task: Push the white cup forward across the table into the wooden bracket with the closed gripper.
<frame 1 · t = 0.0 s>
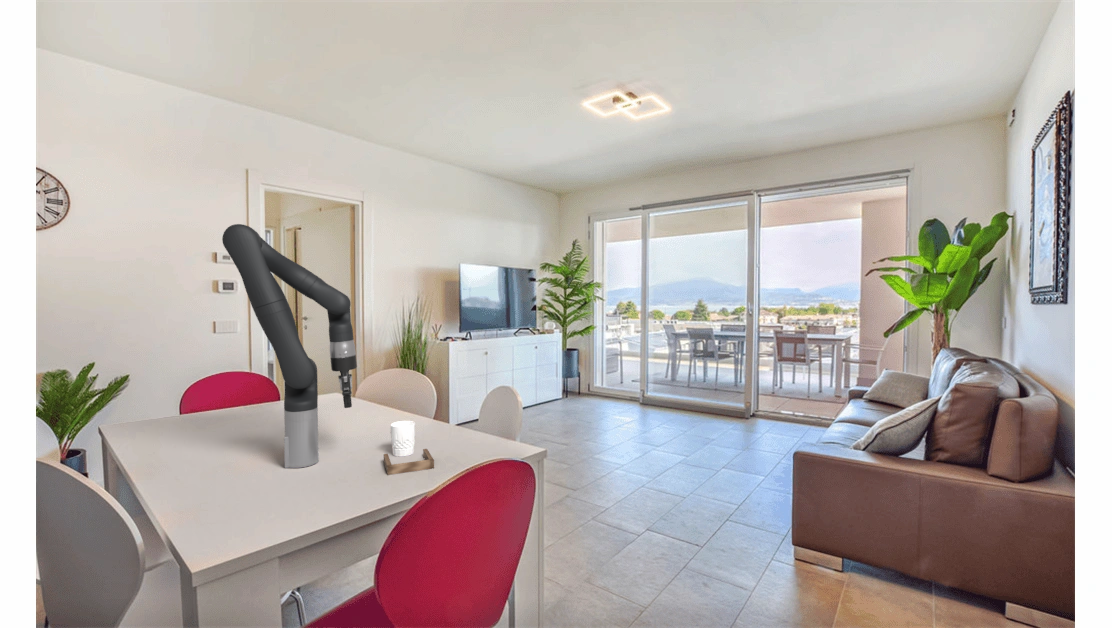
hand: (347, 404, 159), 17 cm above the table, tool pointing down, fingers open, 8 cm apart
wooden bracket: (408, 464, 153), on the table
white cup: (403, 454, 164), on the table
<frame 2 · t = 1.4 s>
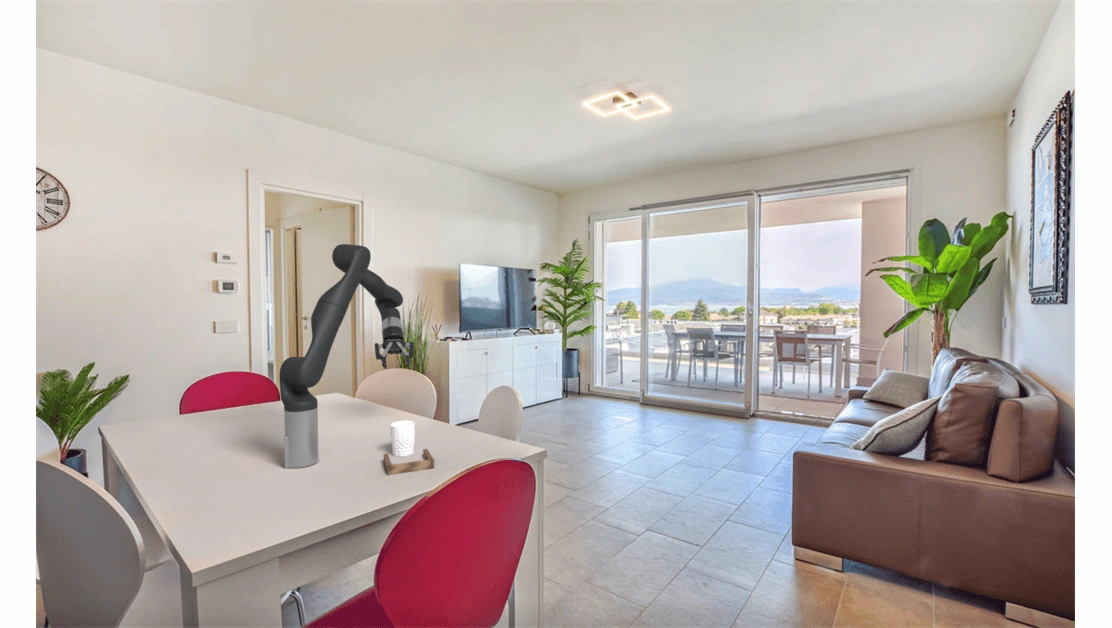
hand: (396, 366, 178), 27 cm above the table, tool tilted 45°, fingers open, 7 cm apart
nothing on the table moved.
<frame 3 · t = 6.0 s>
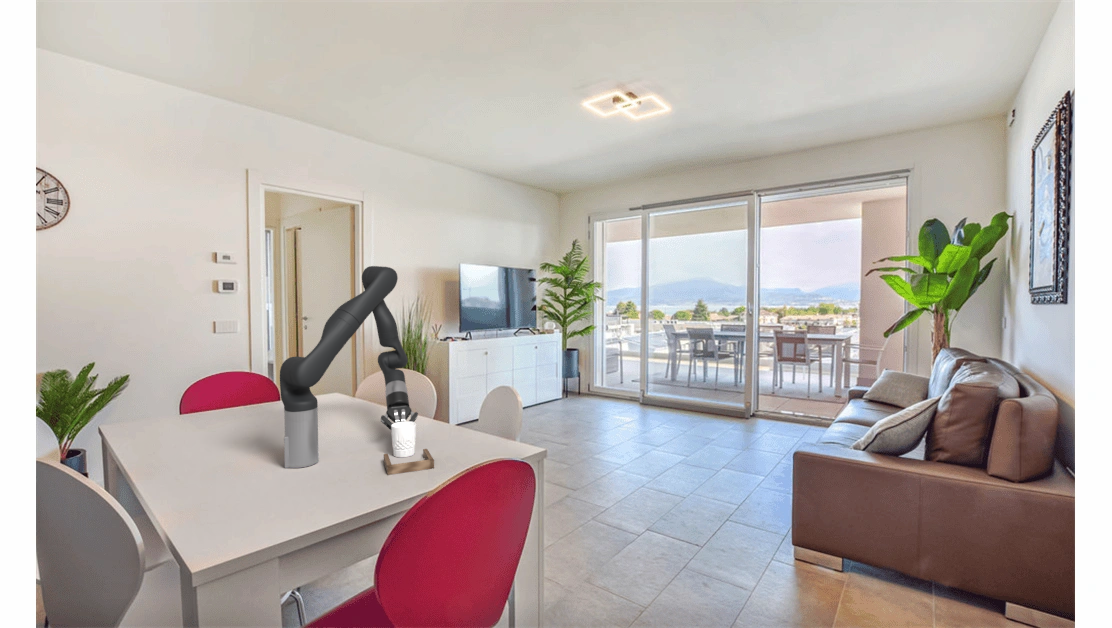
hand: (402, 439, 167), 4 cm above the table, tool tilted 45°, fingers closed
white cup: (404, 454, 163), on the table, touching gripper
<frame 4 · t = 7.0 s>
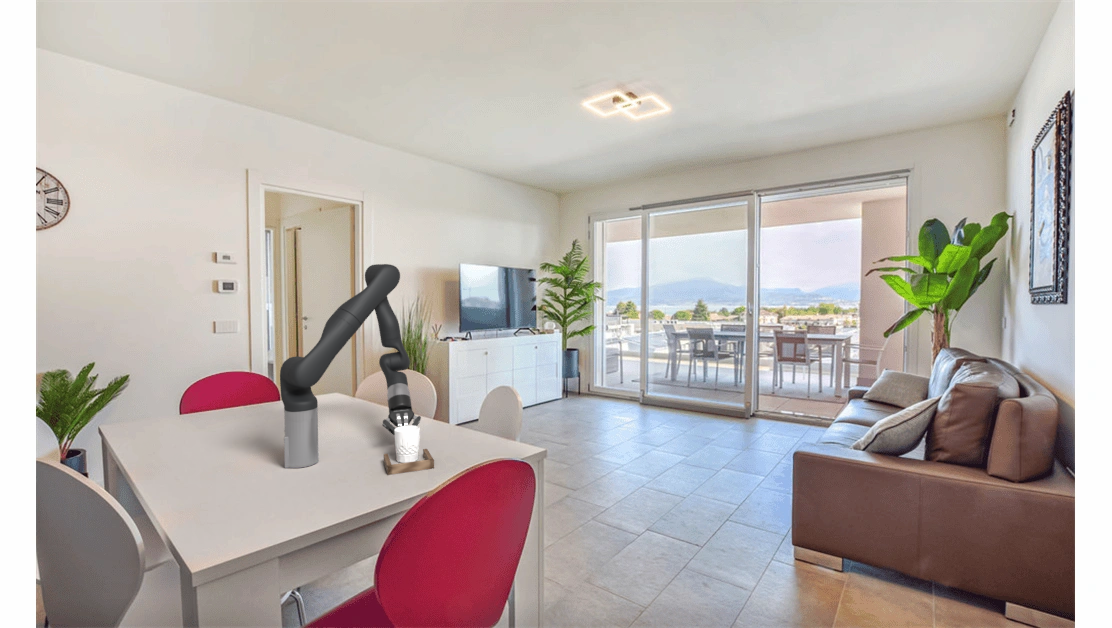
hand: (404, 444, 161), 4 cm above the table, tool tilted 45°, fingers closed
white cup: (407, 460, 158), on the table, touching gripper
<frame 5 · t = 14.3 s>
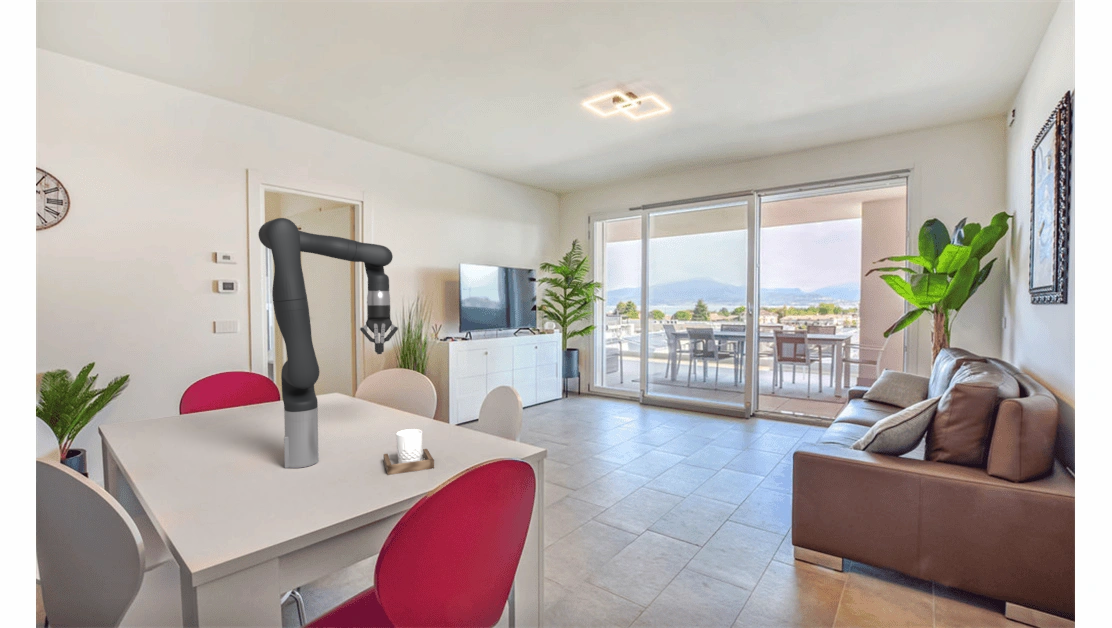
hand: (379, 353, 172), 32 cm above the table, tool pointing down, fingers closed
white cup: (409, 464, 154), on the table
at the end: white cup 1.2 cm from the target spot on the wooden bracket, point 0.0 cm above the wooden bracket's base; white cup tilted 0°; white cup moved 11.4 cm from its start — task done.
